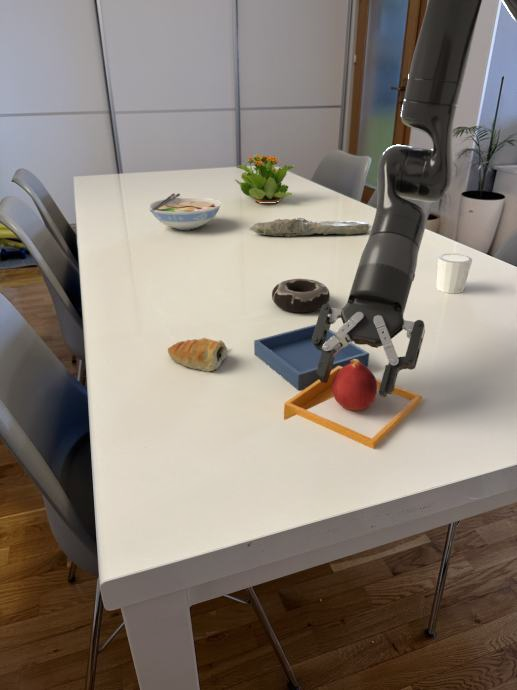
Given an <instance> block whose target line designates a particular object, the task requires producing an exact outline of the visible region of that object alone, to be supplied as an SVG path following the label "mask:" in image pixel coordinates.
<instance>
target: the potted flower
mask: <svg viewBox="0 0 517 690" xmlns="http://www.w3.org/2000/svg"><path fill="white" fill-rule="evenodd" d="M247 160H248V161H247V163H248V164H249V166H250V167H248V166H247V165H246V164H239V165H238V166H235V168H236V169H241V170H242V171H244V172H242V173H241V179H242V180H243V181H242V182H241V181H239V180H237V179H236V178H234V181H235V182H236V183H237V184H238V185H240V186H239V187H240V190H241V192H242V193H243V194H244V196H245V195H246V196H247V197H249V198H251V199H254V201H257V202H277V201H280V202H281V200H282V199H283V198H286V197H289V196H292V195H293V193H292V192H289V185H287V184H282V182H283V180H284V179H285V177H286V176H287V172H288V171H289V170H291V169H294V168H296V165H293V164H291V165H287V164H285V165H284V166H283V167H282V168H281V167H279V168H278V169H277V167H278V165H277V164H278V163H279V161H278V158H277V156H271V155H267V156H265V155H261V156H260V154H257V153H256V154H254V156H253V157H252V156H249V157H247ZM252 164H253V165H254V166H253V167H252ZM254 172H255V173H254ZM281 198H282V199H281Z"/></svg>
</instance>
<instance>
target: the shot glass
mask: <svg viewBox="0 0 517 690" xmlns="http://www.w3.org/2000/svg"><path fill="white" fill-rule="evenodd" d="M472 263H473V259H472V257H471V256H468V255H465V254H461V253H452V252H451V253H442V254H439V255H438V256H437V269H436V270H437V271H436V289H437V290H438V291H439V292H442V293H446V294H460V293H463V292H464V290H465V287H466V284H467V280H468V276H469V273H470V269H471V266H472Z"/></svg>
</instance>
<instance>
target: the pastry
mask: <svg viewBox="0 0 517 690" xmlns="http://www.w3.org/2000/svg"><path fill="white" fill-rule="evenodd" d="M167 353H168V355H169V357H170V360H172V361H173V362H174V363H177V364H178V365H182V366H183V367H186V368H188V369H189V368H190V369H192V370H196V369H197V370H200V371H201V370H202V371H201V372H214V370H215V369H216V370H217V369H219V367H220V366H221V364H222V361H224V360H225V359H226V358H227V356H228V349H227V346H226V344H225V342H224V341H223V340H222V339H221V340H214V339H209V338H206V337H202V338H199V339H197V338H196V339H186V340H182V341H178V342H176V343H175V344H173V345H171V346H169V347H168V348H167ZM216 370H215V371H216Z"/></svg>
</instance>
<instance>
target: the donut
mask: <svg viewBox="0 0 517 690" xmlns="http://www.w3.org/2000/svg"><path fill="white" fill-rule="evenodd" d="M330 298H331V294H330V290H329V288H328V287H327V286H326V285H325V284H324V283H323V282H320V281H318V280H315V279H310V278H309V279H308V278H292V279H287V280H283V281H281V282H279V283H277V284H276V285H275V286H274V287H273V289H272V291H271V300H272V301H273V303H274V304H275V306H277V307H278V308H280V309H281V310H283V311H287V312H291V313H301V314H303V313H310V312H317V311H320V310H321V307H322V305H323V304H329V301H330Z"/></svg>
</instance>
